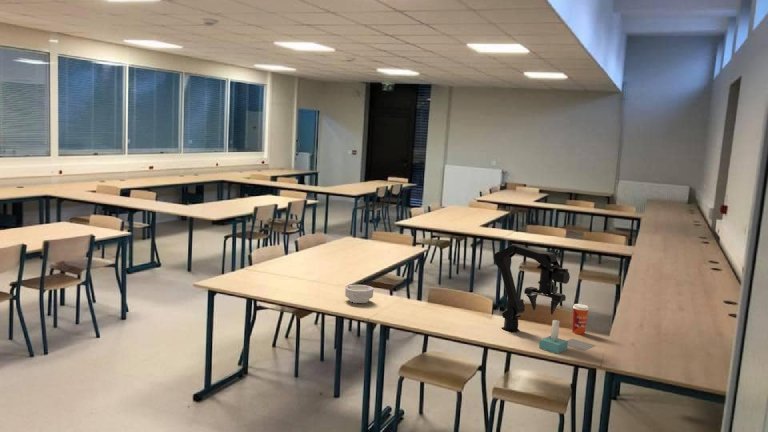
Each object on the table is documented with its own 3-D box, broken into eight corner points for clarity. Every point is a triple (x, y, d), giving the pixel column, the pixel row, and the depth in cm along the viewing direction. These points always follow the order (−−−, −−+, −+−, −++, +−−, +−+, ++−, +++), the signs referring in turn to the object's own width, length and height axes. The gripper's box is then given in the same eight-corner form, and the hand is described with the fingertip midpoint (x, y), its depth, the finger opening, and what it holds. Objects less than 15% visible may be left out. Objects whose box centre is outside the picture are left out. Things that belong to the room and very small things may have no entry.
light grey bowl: (340, 298, 339) (341, 284, 338) (365, 297, 345) (366, 283, 344) (350, 306, 325) (351, 291, 324) (377, 304, 332) (378, 290, 331)
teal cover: (539, 348, 276) (542, 320, 275) (549, 344, 283) (552, 316, 281) (557, 353, 270) (560, 325, 268) (567, 349, 277) (570, 321, 275)
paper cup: (575, 336, 299) (578, 307, 297) (567, 331, 306) (569, 303, 304) (589, 335, 301) (592, 307, 299) (580, 330, 308) (583, 303, 307)
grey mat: (559, 343, 284) (559, 343, 284) (572, 339, 293) (572, 338, 293) (584, 351, 276) (584, 350, 276) (596, 346, 285) (596, 345, 285)
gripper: (572, 281, 286) (569, 314, 288) (537, 273, 299) (534, 305, 301) (561, 284, 278) (557, 318, 280) (525, 276, 291) (522, 308, 293)
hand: (542, 312), depth 288 cm, fingers open, 9 cm apart
